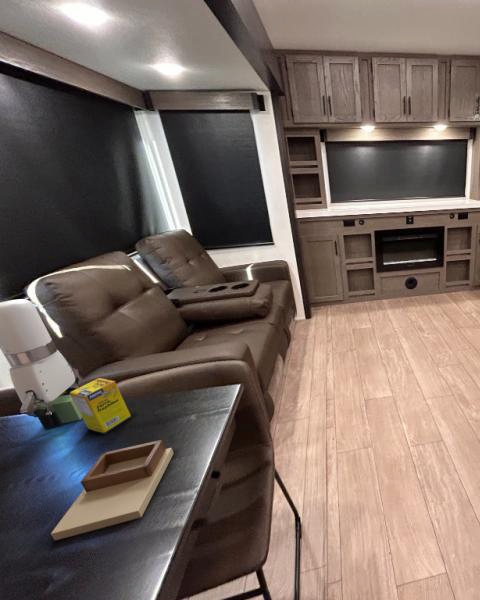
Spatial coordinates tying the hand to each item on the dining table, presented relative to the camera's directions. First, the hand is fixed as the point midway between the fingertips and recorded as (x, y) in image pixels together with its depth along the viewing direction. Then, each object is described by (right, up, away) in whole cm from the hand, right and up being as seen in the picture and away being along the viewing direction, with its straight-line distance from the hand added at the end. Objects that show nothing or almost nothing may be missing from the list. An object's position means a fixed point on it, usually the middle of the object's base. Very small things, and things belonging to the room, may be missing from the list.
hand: (66, 415), depth 78 cm
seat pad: (+32, -7, -20) cm, 38 cm away
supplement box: (+13, -2, -2) cm, 13 cm away
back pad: (0, -1, 0) cm, 1 cm away
